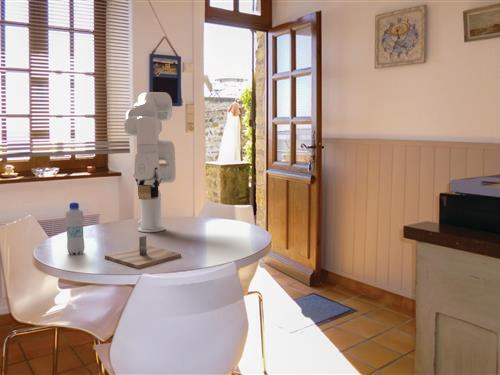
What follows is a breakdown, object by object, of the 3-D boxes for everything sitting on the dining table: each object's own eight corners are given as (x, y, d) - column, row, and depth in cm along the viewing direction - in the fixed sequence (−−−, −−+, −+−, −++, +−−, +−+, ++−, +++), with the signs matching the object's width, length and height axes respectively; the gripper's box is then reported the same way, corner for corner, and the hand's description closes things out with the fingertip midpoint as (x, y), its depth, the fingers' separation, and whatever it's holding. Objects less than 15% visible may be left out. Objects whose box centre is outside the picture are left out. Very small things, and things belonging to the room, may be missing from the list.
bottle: (88, 251, 190) (86, 201, 187) (77, 256, 184) (75, 204, 181) (74, 250, 192) (72, 200, 189) (63, 254, 186) (60, 203, 183)
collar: (135, 198, 184) (135, 185, 183) (149, 196, 189) (149, 184, 188) (146, 200, 179) (146, 186, 179) (161, 198, 185) (160, 185, 184)
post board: (104, 258, 180) (104, 236, 179) (148, 248, 196) (147, 228, 194) (137, 268, 168) (136, 245, 166) (181, 256, 183) (180, 235, 182)
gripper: (124, 149, 185) (126, 195, 187) (154, 150, 174) (155, 199, 176) (140, 148, 190) (141, 193, 192) (170, 149, 179) (171, 197, 181)
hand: (148, 196), depth 184 cm, fingers closed on collar, 6 cm apart
